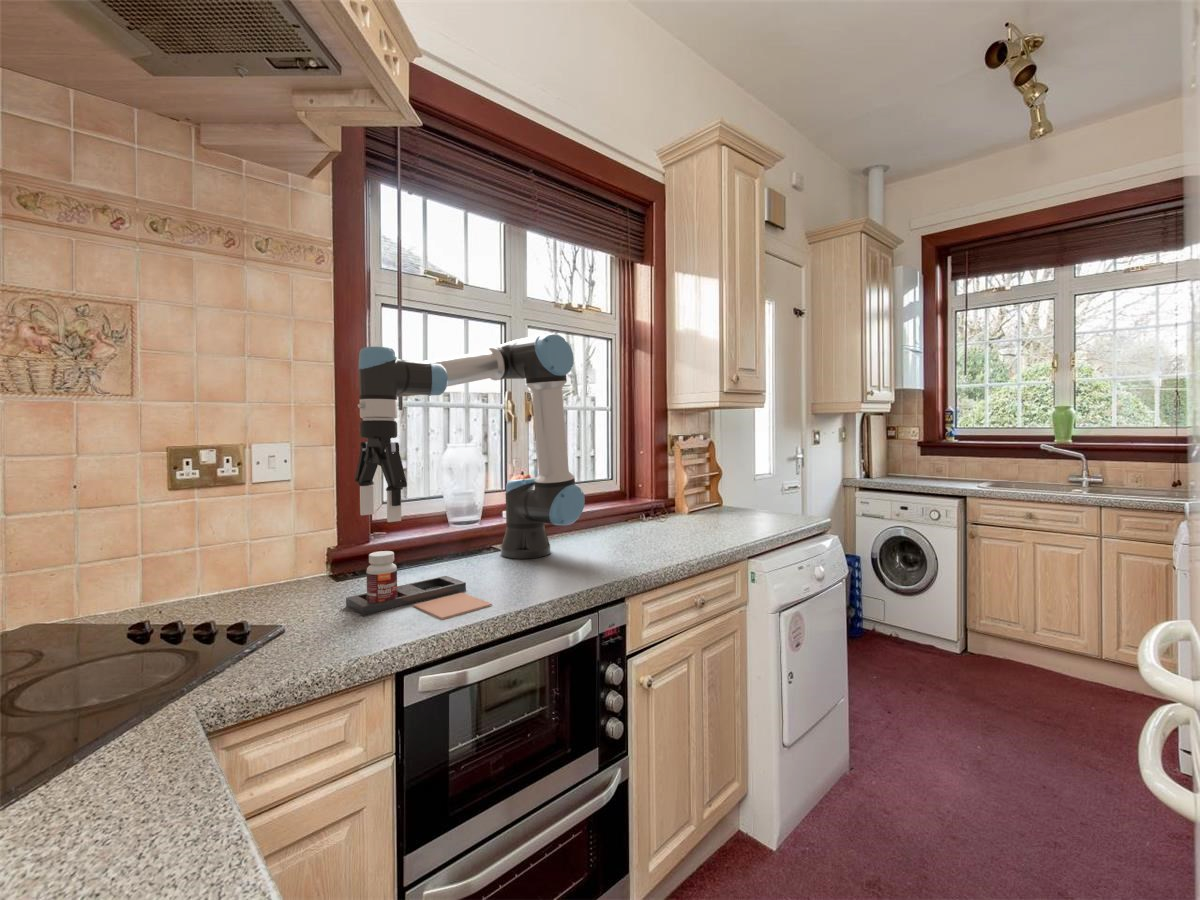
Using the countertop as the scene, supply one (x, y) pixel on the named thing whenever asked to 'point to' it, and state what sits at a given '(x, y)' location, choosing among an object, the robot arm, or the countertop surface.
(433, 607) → the plate
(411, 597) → the compartment tray
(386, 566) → the pill bottle
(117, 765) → the countertop surface
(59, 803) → the countertop surface
